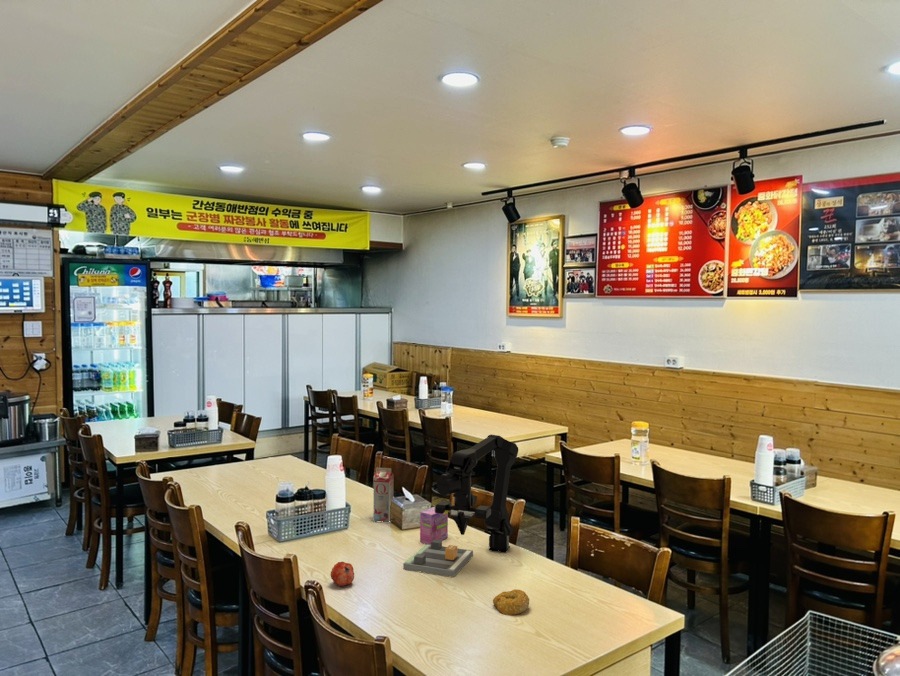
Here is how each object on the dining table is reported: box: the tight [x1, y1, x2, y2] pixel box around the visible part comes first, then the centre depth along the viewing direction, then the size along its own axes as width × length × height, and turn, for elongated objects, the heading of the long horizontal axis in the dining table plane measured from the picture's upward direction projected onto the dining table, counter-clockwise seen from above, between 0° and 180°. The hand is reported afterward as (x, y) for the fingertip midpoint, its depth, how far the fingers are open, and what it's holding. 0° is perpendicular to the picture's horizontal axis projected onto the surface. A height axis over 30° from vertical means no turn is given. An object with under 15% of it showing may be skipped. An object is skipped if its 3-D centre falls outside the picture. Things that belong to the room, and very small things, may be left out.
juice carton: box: [373, 467, 395, 523], centre depth 267 cm, size 7×7×22 cm
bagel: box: [492, 589, 530, 616], centre depth 187 cm, size 10×11×5 cm
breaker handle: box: [445, 544, 458, 560], centre depth 219 cm, size 3×4×4 cm
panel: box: [402, 539, 474, 578], centre depth 221 cm, size 18×20×4 cm
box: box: [419, 506, 449, 545], centre depth 243 cm, size 10×6×12 cm, turn 143°
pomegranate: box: [330, 561, 355, 587], centre depth 203 cm, size 7×7×10 cm
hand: (462, 534), depth 218 cm, fingers closed
